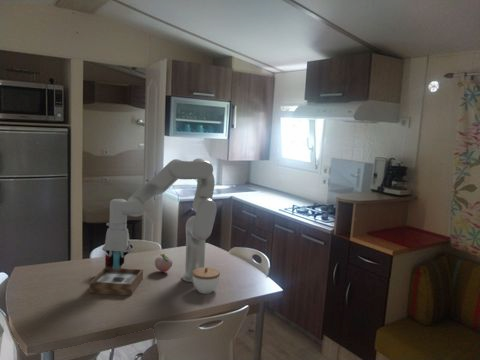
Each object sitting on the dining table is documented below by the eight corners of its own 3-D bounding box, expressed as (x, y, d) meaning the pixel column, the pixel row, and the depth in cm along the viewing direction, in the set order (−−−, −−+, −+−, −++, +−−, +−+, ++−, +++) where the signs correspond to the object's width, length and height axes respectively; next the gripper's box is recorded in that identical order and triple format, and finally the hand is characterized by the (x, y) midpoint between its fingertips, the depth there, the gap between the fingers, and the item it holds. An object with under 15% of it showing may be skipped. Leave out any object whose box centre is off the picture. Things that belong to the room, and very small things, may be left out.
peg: (119, 269, 178) (120, 248, 177) (111, 268, 178) (112, 247, 177) (121, 266, 182) (122, 246, 180) (114, 266, 182) (114, 245, 180)
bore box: (142, 279, 190) (143, 269, 190) (131, 295, 172) (131, 284, 171) (105, 277, 190) (105, 267, 190) (89, 293, 172) (89, 282, 171)
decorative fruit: (151, 271, 201) (151, 252, 200) (165, 268, 206) (165, 250, 205) (160, 277, 194) (161, 257, 193) (174, 273, 199) (175, 254, 198)
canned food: (123, 271, 199) (124, 250, 198) (117, 277, 191) (117, 255, 190) (109, 270, 200) (109, 249, 198) (102, 275, 192) (102, 254, 191)
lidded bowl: (186, 288, 182) (187, 266, 180) (208, 282, 190) (209, 261, 188) (201, 298, 172) (202, 274, 171) (224, 292, 180) (225, 269, 179)
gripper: (96, 226, 174) (95, 266, 176) (133, 229, 173) (132, 268, 176) (103, 222, 181) (102, 260, 183) (138, 225, 181) (136, 263, 183)
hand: (116, 264), depth 180 cm, fingers closed on peg, 3 cm apart
